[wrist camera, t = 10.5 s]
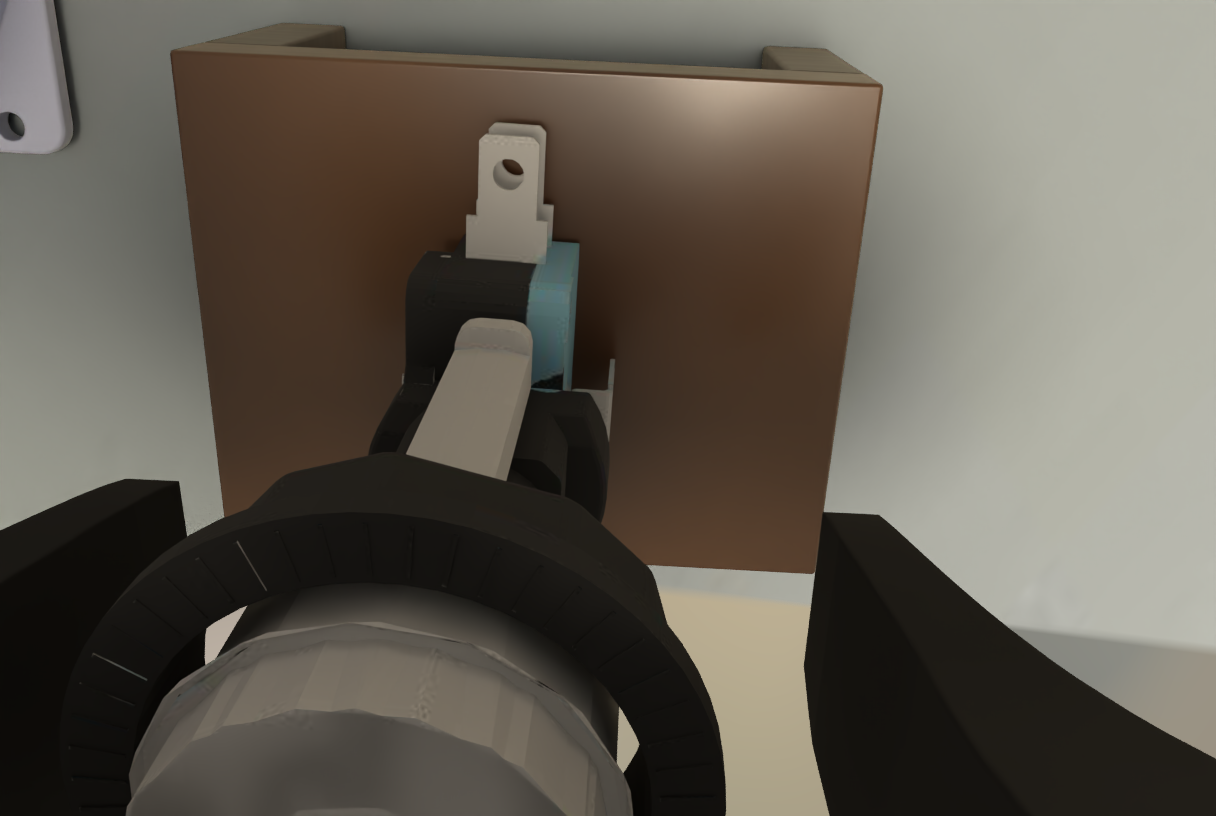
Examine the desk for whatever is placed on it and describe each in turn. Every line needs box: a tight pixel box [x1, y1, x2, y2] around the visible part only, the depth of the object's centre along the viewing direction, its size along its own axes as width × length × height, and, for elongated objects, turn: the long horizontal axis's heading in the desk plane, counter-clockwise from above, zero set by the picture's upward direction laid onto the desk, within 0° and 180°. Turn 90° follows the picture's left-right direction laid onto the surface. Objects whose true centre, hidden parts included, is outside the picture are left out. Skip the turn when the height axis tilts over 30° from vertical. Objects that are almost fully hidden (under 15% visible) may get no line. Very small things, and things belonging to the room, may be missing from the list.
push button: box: [60, 122, 726, 816], centre depth 12 cm, size 7×5×10 cm
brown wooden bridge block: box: [170, 23, 883, 574], centre depth 19 cm, size 10×8×5 cm
